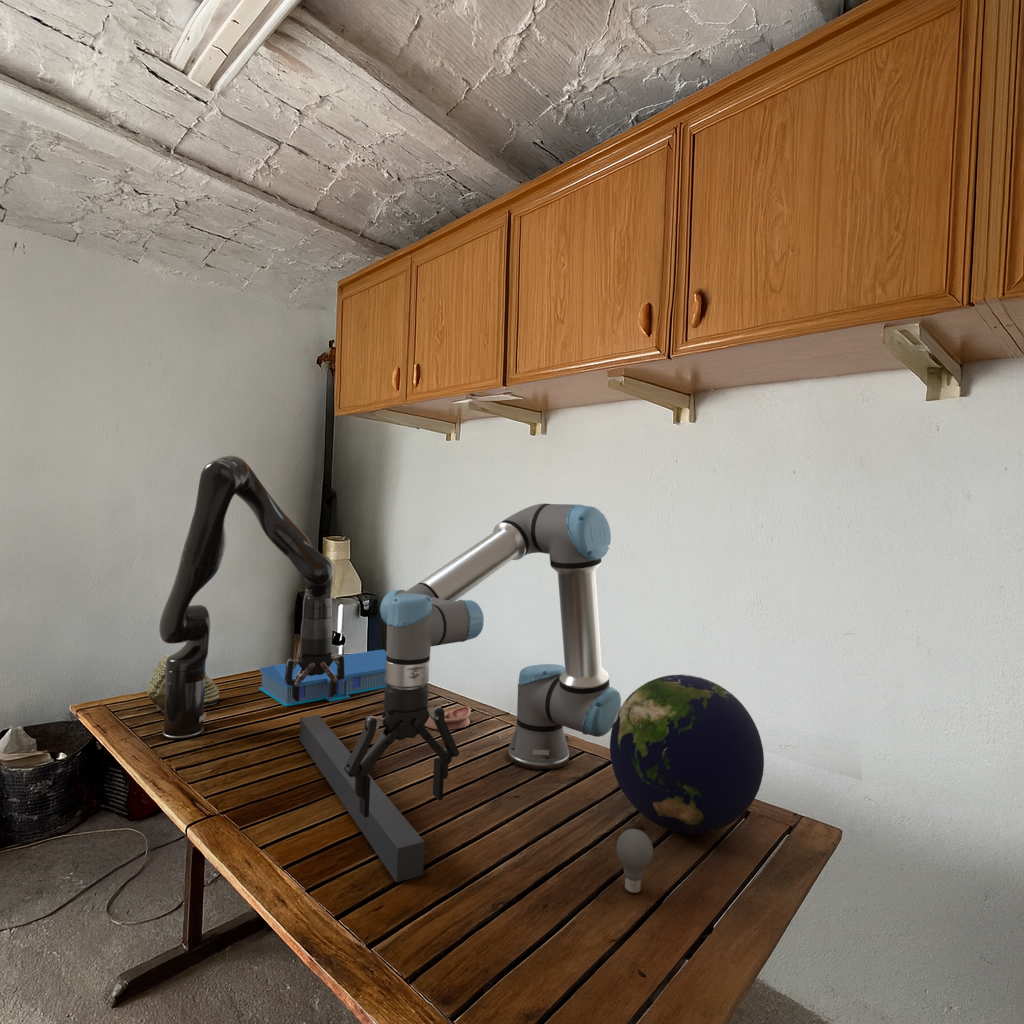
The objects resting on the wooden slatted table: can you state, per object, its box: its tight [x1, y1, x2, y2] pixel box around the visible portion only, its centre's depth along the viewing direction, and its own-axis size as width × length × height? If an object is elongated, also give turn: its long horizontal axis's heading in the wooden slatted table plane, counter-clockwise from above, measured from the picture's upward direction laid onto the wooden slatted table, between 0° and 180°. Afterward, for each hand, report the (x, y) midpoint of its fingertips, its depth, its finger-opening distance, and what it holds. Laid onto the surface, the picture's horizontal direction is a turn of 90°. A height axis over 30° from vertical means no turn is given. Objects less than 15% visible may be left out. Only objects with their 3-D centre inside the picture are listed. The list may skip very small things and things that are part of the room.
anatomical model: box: [424, 705, 472, 731], centre depth 180 cm, size 13×4×12 cm
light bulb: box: [615, 828, 654, 894], centre depth 106 cm, size 6×6×10 cm
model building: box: [258, 649, 387, 707], centre depth 208 cm, size 39×24×10 cm, turn 132°
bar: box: [299, 714, 425, 883], centre depth 136 cm, size 69×5×6 cm, turn 32°
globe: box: [609, 673, 765, 835], centre depth 128 cm, size 30×30×30 cm
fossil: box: [147, 654, 221, 712], centre depth 185 cm, size 9×18×15 cm, turn 132°
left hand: (314, 698), depth 160 cm, fingers open, 8 cm apart
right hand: (402, 805), depth 110 cm, fingers open, 13 cm apart
